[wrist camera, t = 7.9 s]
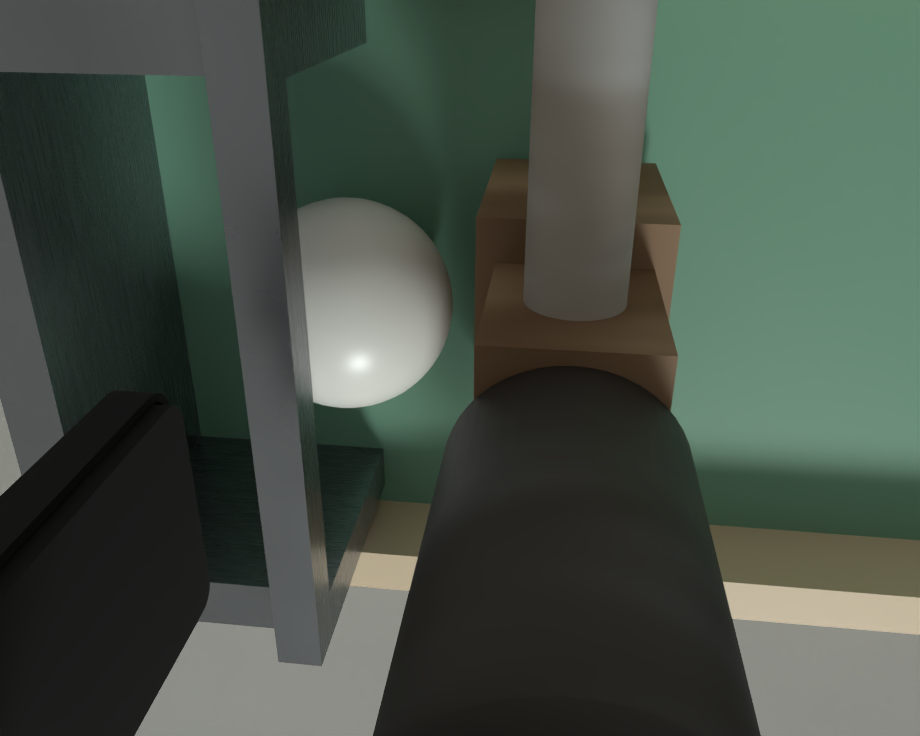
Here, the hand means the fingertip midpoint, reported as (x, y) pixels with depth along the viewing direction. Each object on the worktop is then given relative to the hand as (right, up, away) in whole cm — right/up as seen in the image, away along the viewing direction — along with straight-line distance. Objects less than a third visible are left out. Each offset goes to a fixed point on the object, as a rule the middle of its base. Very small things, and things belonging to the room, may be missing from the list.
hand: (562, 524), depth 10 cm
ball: (-3, +3, +6) cm, 8 cm away
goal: (-5, +4, +8) cm, 11 cm away
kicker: (+1, +4, +7) cm, 8 cm away
